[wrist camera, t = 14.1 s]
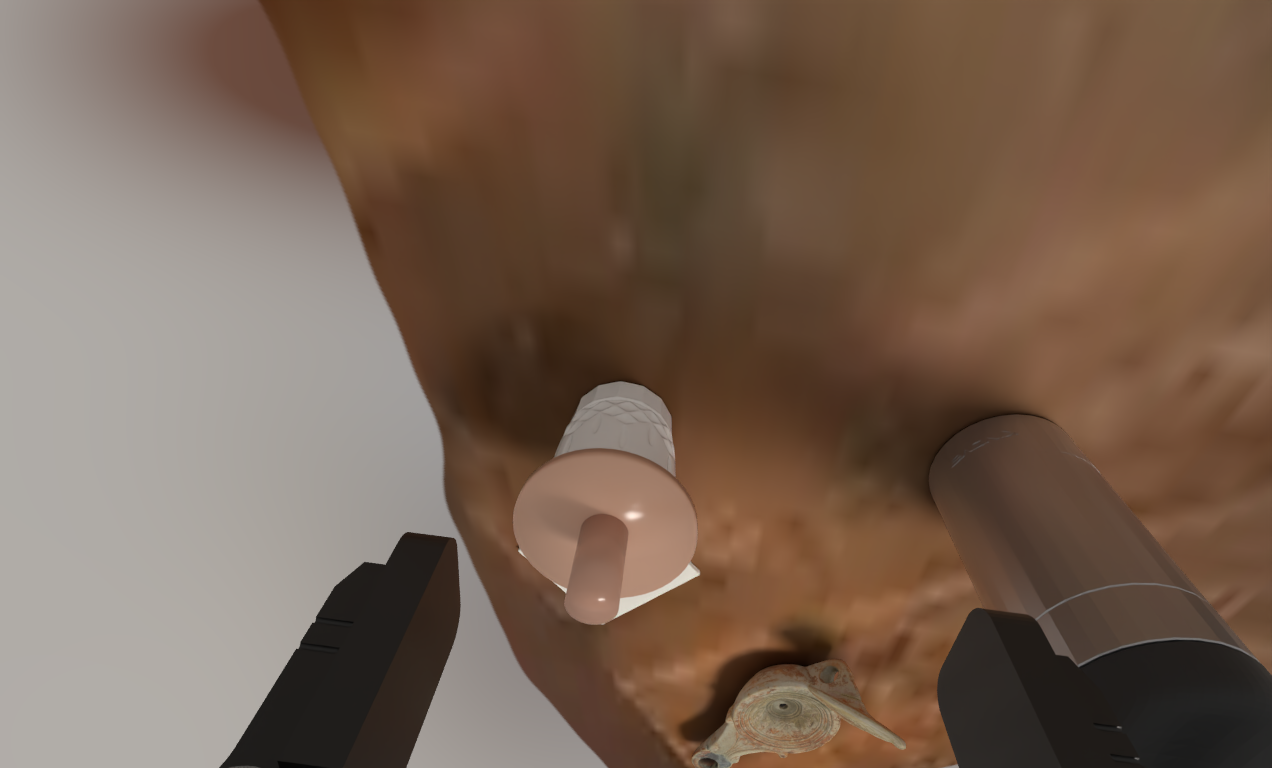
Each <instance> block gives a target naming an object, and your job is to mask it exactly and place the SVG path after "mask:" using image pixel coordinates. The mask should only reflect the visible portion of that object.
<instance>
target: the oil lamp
mask: <svg viewBox="0 0 1272 768" xmlns="http://www.w3.org/2000/svg"><path fill="white" fill-rule="evenodd" d="M836 672H839V675H838V677H837V679H836V680H835V681H834V676H835V674H836ZM841 718H842V719H844V720H845V721H847V722H848V723H850V724H851V725H853V726H855V727H857V728H859V729H862V730H864V731H866V732H868V733H870V734H872V735H874V736H875V737H877V738H880V739H882V740H884V741H888V742H891V743H893V744H894V745H895V746H896V747H897V748H899V749H905V748H906V744H905V742H904V741H903V740H902V739H901V738H900V737H899V736H897V735H896V734H895V733H893V732H892V731H891V730H889V729H888V728H887V727H885V726H884V725H882V724H881V723H879V722H878V721H876V720H875V719H874V718H873V717H872V716H871V715H870V714H869V713H868V712H867V710H866V708H865V706H864V704H863V703H862V702H861V697H860V694H859V691H858V688H857V686H856V684H855V681H854V678H853V674H852V672H851V670H850V668H849V667H848V665H847V664H846V663H845V662H844V661H843V660H839V659H830V660H826V661H822V662H820V663H815V664H813V665H810V666H807V667H803V666H800V665H795V664H782V665H774V666H770V667H767V668H765V669H763V670H761V671H759V672H758V673H756V674H755V675H754V676H753V677H752V678H751V679H750V680H749V681H748V682H747V683H746V684H745V686H744V687H743V688H742V689H741V691H740V692H739V694H738V696H737V698H736V700H735V703H734V704H733V705H732V706H731V707H730V709H729V710H728V713H727V716H726V722H725V723H724V724H723V725H722V726H721V727H720V728H719V729H717V730H716V731H715V732H714V733H713V734H712V735H711V736H709V737H708V738H707V739H706V740H705V741H704V742H703V743H702V744H700V746H699V747H698V748H697V749H696V750H695V752H694V753H693V755H692V763H693V765H694V766H695V768H729V767H731V765H732V764H733V763H737V762H738V761H739V758H740V756H742V755H745V754H749V753H756V752H774V753H778V755H779V756H780V757H783V758H785V757H787V755H788V753H801V752H807V751H810V750H814V749H816V748H818V747H821V746H822V745H824V744H825V743H827V742H829V741H830V740H831V739H832V738H833V737H834V736H835V734H836V733H837V731H838V729H839V728H840V723H841Z"/></svg>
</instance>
